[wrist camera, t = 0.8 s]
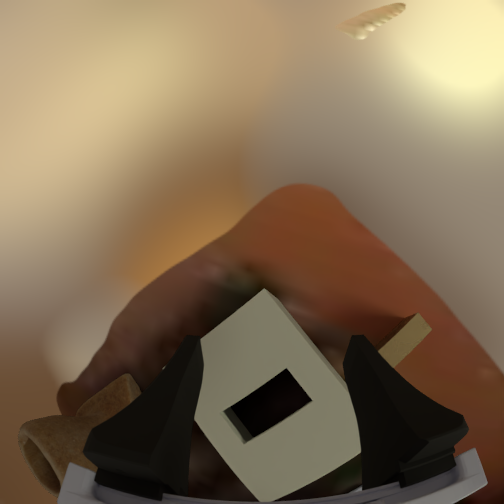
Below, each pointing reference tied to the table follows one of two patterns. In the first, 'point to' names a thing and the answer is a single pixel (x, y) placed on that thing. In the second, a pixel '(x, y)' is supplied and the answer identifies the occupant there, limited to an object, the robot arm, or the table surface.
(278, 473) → the box
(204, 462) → the table surface
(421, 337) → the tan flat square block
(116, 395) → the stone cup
